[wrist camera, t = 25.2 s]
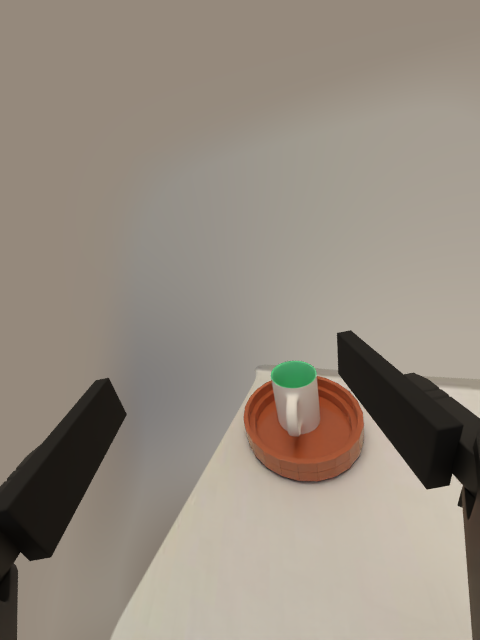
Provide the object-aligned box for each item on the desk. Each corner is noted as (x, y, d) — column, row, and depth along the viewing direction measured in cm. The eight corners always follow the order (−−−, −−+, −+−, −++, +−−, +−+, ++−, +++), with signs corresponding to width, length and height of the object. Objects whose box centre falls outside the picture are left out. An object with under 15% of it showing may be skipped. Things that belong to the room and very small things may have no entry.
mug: (324, 455, 38) (320, 406, 34) (274, 452, 40) (265, 405, 36) (318, 402, 48) (314, 359, 44) (279, 401, 50) (272, 361, 46)
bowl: (242, 483, 37) (236, 464, 35) (252, 393, 55) (249, 378, 54) (384, 484, 33) (386, 462, 31) (344, 387, 51) (343, 370, 50)
